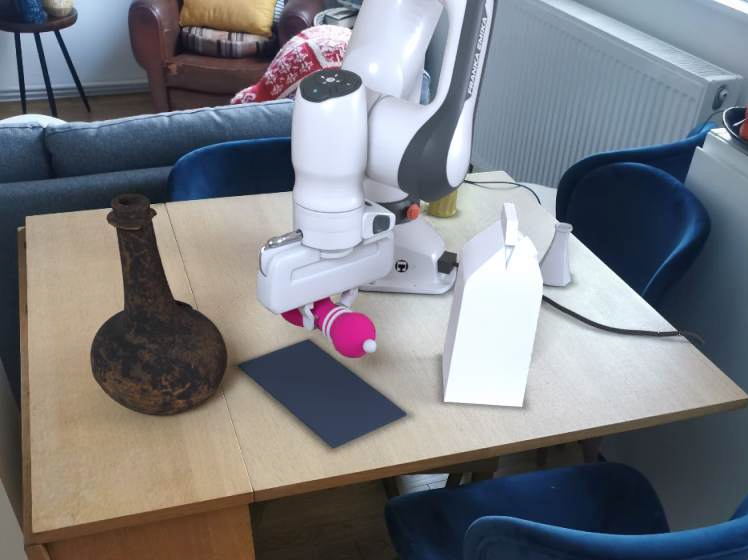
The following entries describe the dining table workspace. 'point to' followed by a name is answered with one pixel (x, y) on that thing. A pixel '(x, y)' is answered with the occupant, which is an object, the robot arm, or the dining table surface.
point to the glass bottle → (153, 328)
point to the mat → (322, 392)
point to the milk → (493, 316)
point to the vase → (444, 206)
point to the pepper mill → (340, 327)
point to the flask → (557, 258)
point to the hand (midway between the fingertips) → (327, 321)
